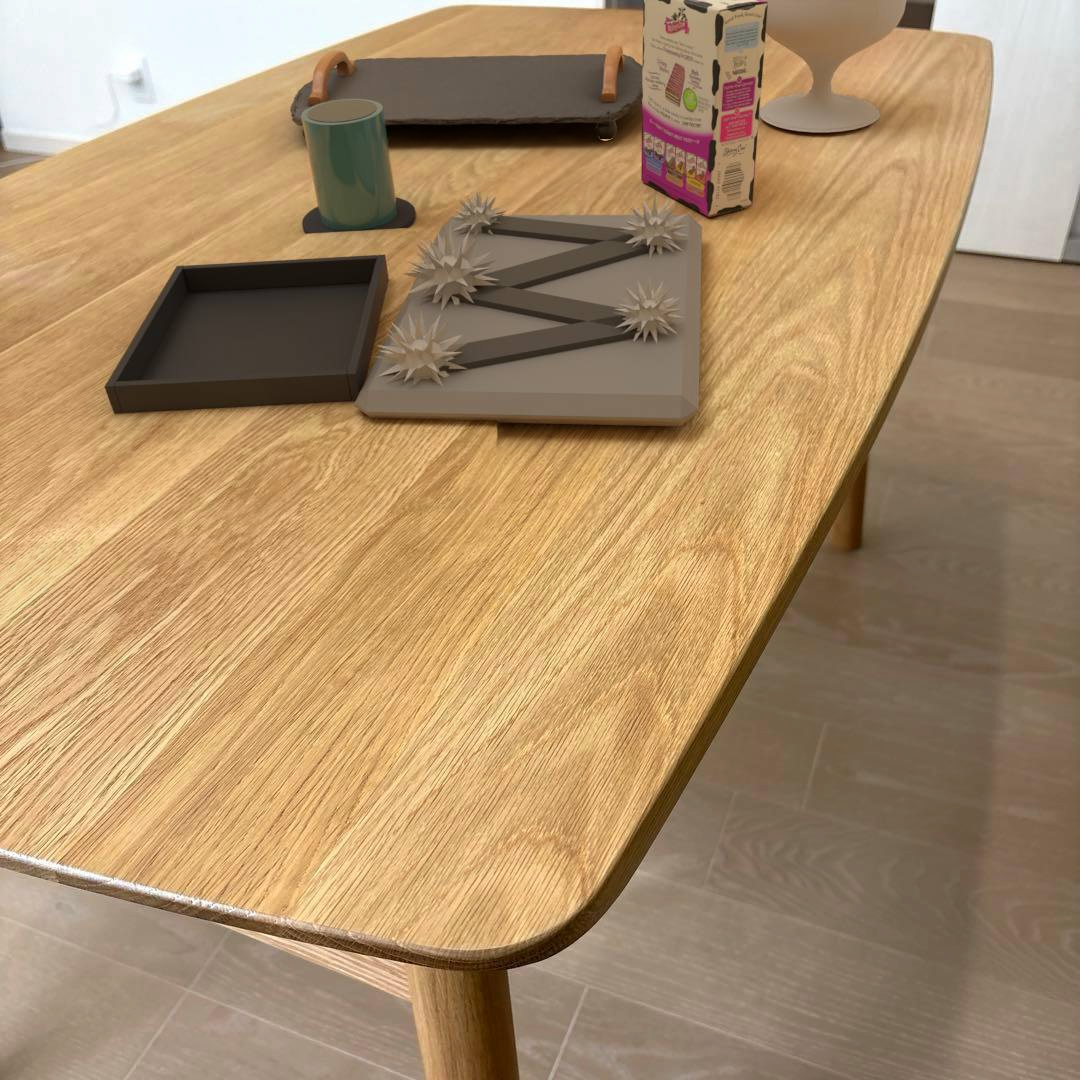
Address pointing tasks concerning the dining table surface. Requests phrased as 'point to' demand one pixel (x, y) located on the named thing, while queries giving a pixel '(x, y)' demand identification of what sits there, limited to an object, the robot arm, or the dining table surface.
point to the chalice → (826, 58)
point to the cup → (350, 163)
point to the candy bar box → (702, 100)
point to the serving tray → (483, 88)
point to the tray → (254, 336)
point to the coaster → (401, 220)
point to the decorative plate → (547, 322)
